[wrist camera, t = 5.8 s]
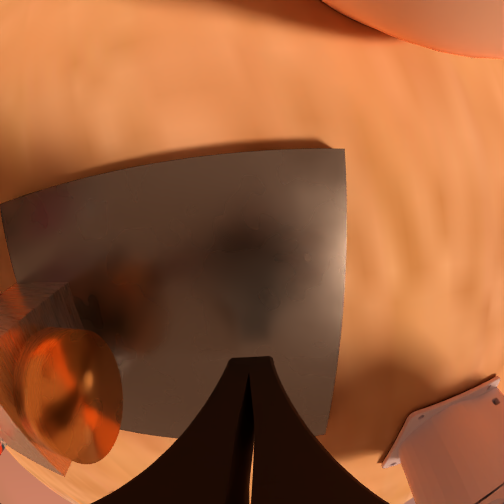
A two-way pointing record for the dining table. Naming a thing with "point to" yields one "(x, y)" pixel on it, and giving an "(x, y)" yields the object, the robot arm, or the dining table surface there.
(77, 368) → the shaft
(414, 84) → the dining table surface
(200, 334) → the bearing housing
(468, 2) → the lidded bowl
